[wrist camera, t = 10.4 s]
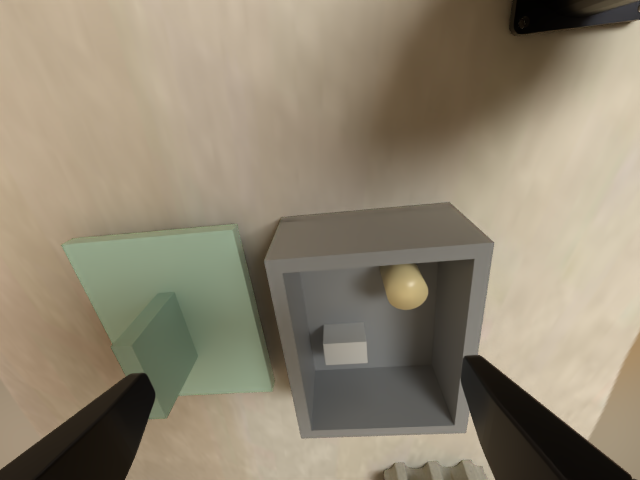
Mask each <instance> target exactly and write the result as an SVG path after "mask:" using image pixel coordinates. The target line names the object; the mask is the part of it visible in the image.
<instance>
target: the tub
mask: <svg viewBox="0 0 640 480" xmlns="http://www.w3.org/2000/svg"><path fill="white" fill-rule="evenodd" d="M493 247H494V242H493V241H492V240H491V239H490V238H489V237H487V236H486V235H485V234H484V233H483V232H482V231H481V230H480V229H479V228H477V227H476V226H475V225H474V224H473V223H472V222H471V221H470V220H469V219H467V218H466V217H465V216H464V215H463V214H462V213H461V212H460V211H459V210H457V209H456V208H455V207H454V206H453V205H452V204H451V203H450V202H447V203H436V204H425V205H414V206H402V207H391V208H380V209H369V210H357V211H346V212H335V213H324V214H313V215H301V216H290V217H282V218H281V220H280V223H279V225H278V227H277V230H276V232H275V235H274V237H273V240H272V242H271V245H270V247H269V249H268V252H267V254H266V257H265V259H264V264H265V268H266V273H267V278H268V283H269V287H270V292H271V297H272V302H273V306H274V311H275V316H276V321H277V325H278V330H279V335H280V340H281V344H282V349H283V354H284V359H285V363H286V368H287V373H288V378H289V382H290V387H291V392H292V397H293V402H294V406H295V411H296V416H297V421H298V425H299V430H300V435H301V438H331V437H361V436H391V435H421V434H451V433H466V430H467V424H468V417H469V407H468V404H467V401H466V398H465V395H464V391H463V388H462V385H461V369H462V361H463V357H464V356H466V355H478V349H479V342H480V335H481V329H482V322H483V315H484V308H485V301H486V295H487V288H488V281H489V274H490V267H491V261H492V254H493Z"/></svg>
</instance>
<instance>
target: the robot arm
mask: <svg viewBox="0 0 640 480" xmlns="http://www.w3.org/2000/svg"><path fill="white" fill-rule="evenodd" d="M639 4H640V0H513V1H512V9H511V16H510V24H509V29H510V32H511V34H513V35H514V36H521V35H529V34H537V33H545V32H553V31H561V30H568V29H576V28H584V27H592V26H600V25H608V24H615V23H623V22H631V21H636V20H640V12H638V7H639ZM521 18H523V19H524V20H525V25H524V27H523V28H520V27H519V21H520V19H521ZM461 385H462V388H463V391H464V395H465V398H466V401H467V404H468V407H469V410H470V413H471V416H472V420H473V423H474V426H475V429H476V432H477V435H478V438H479V441H480V444H481V447H482V449H483V452H484V454H485V457H486V459H487V461H488V464H489V466H490V468H491V471H492V473H493V475H494V478H495V480H636V479H632V477H631V475H630V474H629V473H628V472H626V471H625V470H624V469H623V468H621V467H620V466H619V465H617V464H616V463H615V462H614V461H613V460H611V459H610V458H609V457H607V456H606V455H605V454H604V453H602V452H601V451H600V450H599V449H597V448H596V447H595V446H594V445H592V444H591V443H590V442H589V441H587V440H586V439H585V438H584V437H582V436H581V435H580V434H579V433H577V432H576V431H575V430H574V429H572V428H571V427H570V426H569V425H567V424H566V423H565V422H564V421H562V420H561V419H560V418H559V417H557V416H556V415H555V414H554V413H552V412H551V411H550V410H549V409H547V408H546V407H545V406H544V405H542V404H541V403H540V402H538V401H537V400H536V399H535V398H533V397H532V396H531V395H530V394H528V393H527V392H526V391H525V390H523V389H522V388H521V387H520V386H518V385H517V384H516V383H515V382H513V381H512V380H511V379H510V378H508V377H507V376H506V375H505V374H503V373H502V372H501V371H500V370H498V369H497V368H496V367H495V366H493V365H492V364H491V363H490V362H488V361H487V360H486V359H485V358H483V357H482V356H480V355H466V356H464V357H463V361H462V369H461ZM155 397H156V393H155V390H154V387H153V385H152V383H151V381H150V379H149V377H148V375H147V374H146V373H131V374H129V375H127V376H126V377H125V378H123V379H122V380H121V381H119V382H118V383H117V384H115V385H114V386H113V387H111V388H110V389H109V390H107V391H106V392H104V393H103V394H102V395H100V396H99V397H98V398H96V399H95V400H94V401H92V402H91V403H90V404H88V405H87V406H86V407H84V408H83V409H82V410H80V411H79V412H78V413H76V414H75V415H74V416H72V417H71V418H69V419H68V420H67V421H65V422H64V423H63V424H61V425H60V426H59V427H57V428H56V429H55V430H53V431H52V432H51V433H49V434H48V435H47V436H45V437H44V438H43V439H41V440H40V441H39V442H37V443H36V444H35V445H33V446H32V447H30V448H29V449H28V450H26V451H25V452H24V453H22V454H21V455H20V456H18V457H17V458H16V459H14V460H13V461H12V462H10V463H9V464H7V465H6V466H5V467H3V468H2V469H1V470H0V480H125V478H126V476H127V474H128V472H129V469H130V467H131V465H132V462H133V460H134V458H135V455H136V453H137V450H138V447H139V444H140V442H141V439H142V436H143V433H144V430H145V427H146V424H147V422H148V419H149V416H150V413H151V410H152V407H153V404H154V402H155Z"/></svg>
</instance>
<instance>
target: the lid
mask: <svg viewBox="0 0 640 480" xmlns="http://www.w3.org/2000/svg"><path fill="white" fill-rule="evenodd" d="M61 246H62V247H63V249H64V251H65V253H66V255H67V257H68V259H69V261H70V263H71V265H72V267H73V269H74V271H75V273H76V275H77V277H78V278H79V280H80V282H81V284H82V286H83V288H84V290H85V292H86V294H87V296H88V298H89V300H90V302H91V304H92V306H93V308H94V309H95V311H96V313H97V315H98V317H99V319H100V321H101V323H102V325H103V327H104V329H105V331H106V333H107V335H108V337H109V338H110V340H111V342H112V344H113V345H112V346H111V349H112V350H113V352H114V354H115V356H116V358H117V360H118V362H119V364H120V366H121V368H122V370H123V372H124V373H125V375H126V376H127V375H129V374H131V373H146V374H147V375H148V377H149V379H150V381H151V383H152V385H153V387H154V390H155V393H156V397H155V402H154V404H153V407H152V410H151V413H150V416H149V419H165V418H167V417H168V415H169V413H170V411H171V409H172V407H173V405H174V403H175V401H176V399H177V397H178V396H185V395H207V394H229V393H250V392H272V391H273V387H274V382H275V380H274V376H273V372H272V368H271V363H270V359H269V355H268V351H267V347H266V342H265V338H264V334H263V330H262V326H261V322H260V317H259V313H258V309H257V305H256V301H255V296H254V292H253V288H252V284H251V280H250V276H249V271H248V267H247V263H246V259H245V255H244V250H243V246H242V242H241V238H240V234H239V230H238V225H237V224H228V225H217V226H206V227H194V228H183V229H172V230H161V231H150V232H138V233H127V234H116V235H105V236H94V237H82V238H73V239H71V240H69V241H67V242H65V243H64V244H62V245H61Z"/></svg>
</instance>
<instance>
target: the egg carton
mask: <svg viewBox="0 0 640 480" xmlns="http://www.w3.org/2000/svg"><path fill="white" fill-rule="evenodd" d="M384 479H385V480H488V479H487V477H486V474H485V472H484V470H483V467H482V466H477V465H474V464H473V463H472V460H462V461H461V462H460V463H459V464H458V465H457V466H454V467H443V466H441V465H439V463H438V461H429V462H427V464H426V465H425V466H423V467H421V468H417V469H413V468H409V467H407V466H406V465H405V463H403V462H399V463H395V464H394V466H393V467H392V468H390V469H387V470H385V471H384Z"/></svg>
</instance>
